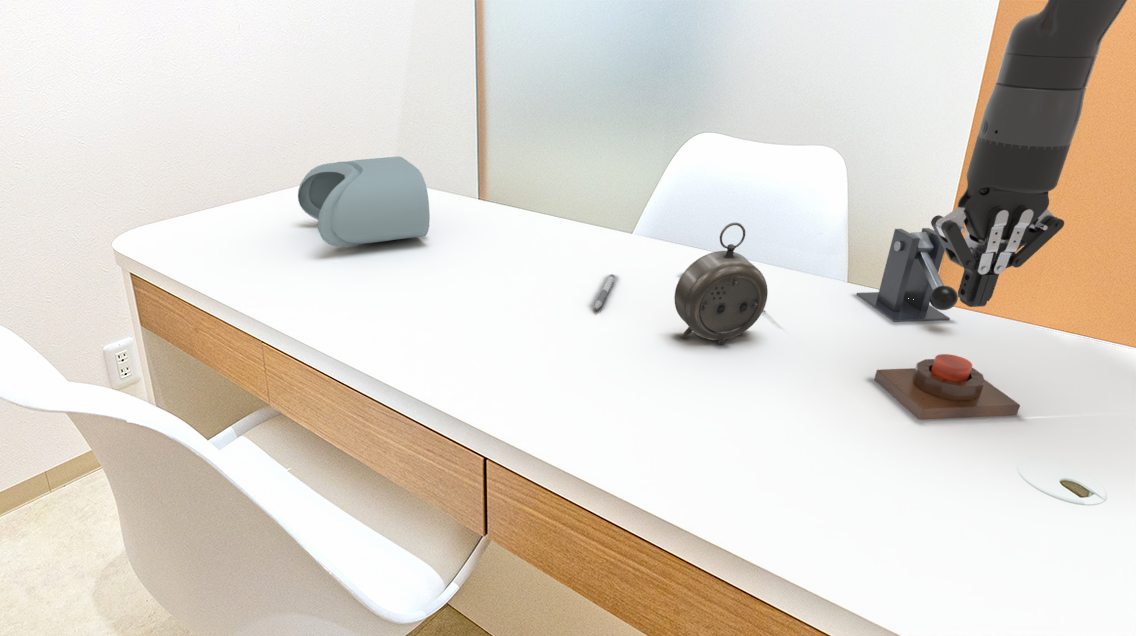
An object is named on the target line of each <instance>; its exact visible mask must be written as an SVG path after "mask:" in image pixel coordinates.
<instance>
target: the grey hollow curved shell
mask: <svg viewBox="0 0 1136 636" xmlns="http://www.w3.org/2000/svg"><path fill="white" fill-rule="evenodd" d="M297 201H298V203H299V206H300V207H301V209H302V211H303V212H304V213H305V214H307V215H308V216H310V217H311V218H313V219H315V220H317V229H318V233H319V235H320V237H321V239H322V240H323V242H324V243H326V244H327V245H331V246H334V247H338V248H351V247H358V246H363V245H365V244H374V243H381V242H388V241H394V240H403V239H404V240H405V239H413V238H421V237H427V235H428V234H429V229H430V216H431V215H430V201H429V192H428V188H427V184H426V181H425V179H424V176H423V174H422V172H421V171H420V169H419V168H418V167H416V166H415V165H414V164H413V163H411V162H410V161H408V160H407V159H405V158H404V157H402V156H387V157H375V158H365V159H364V158H363V159H354V160H348V161H337V162H330V163H329V162H328V163H324V164H320V165H317V166H315V167H314V168H312V169H310V170H309V172H307V173H306V175H304V177H303V179H302V181H300V184H299V187H298V191H297Z"/></svg>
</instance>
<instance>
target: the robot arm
mask: <svg viewBox="0 0 1136 636" xmlns="http://www.w3.org/2000/svg"><path fill="white" fill-rule="evenodd" d="M1127 2H1128V0H1048V1H1047V2H1046V4H1045V5H1044V7H1043V9H1041V11H1039V12H1037V13H1033V14H1029V15H1026V16H1025V17H1023V18H1021V19H1020V20H1018V21H1017V22H1016V23H1015V25H1014V26H1013V28H1012V30H1011V31H1010V34H1009V36H1008V39H1007V42H1006V45H1005V49H1004V53H1003V56H1002V60H1001V63H1000V67H999V70H998V74H997V77H996V80H995V81H996V82H995V84H994V86H993V89H992V92H991V94H990V96H989V99H988V101H987V103H986V106H985V109H984V111H983V116H982V120H981V123H980V126H979V130H978V134H977V136H976V141H975V144H974V147H973V150H972V155H971V158H970V161H969V165H968V168H967V173H966V182H967V187H966V189H965V191H964V193H963V194H962V196H961V197H959V199H958V202H957V208H955V209H954V210H952V211H951V212H949V213H948V214H946V215H945V216H942V215H940V214H938V215H935V216H933V217H932V219H931V221H930V225H931V226H932V228H933V229H932V230H934V231H935V233H936V235H937V237H938V238H939V240H940V242H941V244H942V246H943V248H944V250H945V252H944V253H945V255H946V256H947V258H948V260H949V261H951V262H952V263H954V264H955V265H958V266H959V267H962V268H963V274H962V277H961V280H960V284H959V287H958V290H957V295H958V299H959V301H960V302H961V303H962V304H964V305H965V306H967V307H969V308H978V307H980V308H982V307H985V306H987V303H988V302H989V301H990V300H991V299H992V297H993V294H994V291H995V289H996V285H997V283H998V279H999V276H1000V274H1003V273H1004V271H1005V270H1006V269H1009V268H1011V267H1013V268H1017V269H1018V268H1020V267H1022V266H1023V265H1024V264H1025V263H1026V262H1027V261H1028V260H1030V258H1032V256H1033V255H1034V254H1036V253H1037V252H1038V251H1039V250H1040V249H1041V248H1042V247H1044V246H1045V245H1046V244H1047V242H1049V241H1050V240H1051V239H1052V238H1053V237H1054V236H1055V235H1057V233H1059V232H1060V231H1061V230H1062V229H1063V228H1064V226H1065V220H1063V219H1061V218H1059V217H1058V216H1055V215H1054V214H1052V212H1051V211H1050V210H1049V209H1048V208H1049V205H1050V198H1049V192H1051V191H1053V190H1054V189H1056V187H1057V186H1058V184H1059V181H1060V177H1061V174H1062V172H1063V168H1064V166H1065V163H1066V160H1067V157H1068V155H1069V151H1070V148H1071V145H1072V142H1073V139H1074V136H1075V133H1076V130H1077V129H1078V125H1079V122H1080V118H1081V115H1082V111H1083V107H1084V106H1083V105H1084V99H1085V96H1086V95H1085V94H1086V91H1087V87H1088V86H1089V85H1088V84H1089V82H1090V79H1091V76H1092V73H1093V70H1094V67H1095V64H1096V62H1097V59H1098V55H1099V52H1100V48H1101V44H1102V41H1103V39H1104V37H1105V36H1106V34H1107V33H1108V31H1109V30H1110V28H1111V27H1112V25H1113V24H1114V22H1115V21H1116V19H1117V18H1118V17H1119V15H1120V13H1122V10H1123V9H1124V7H1125V5H1126V4H1127ZM965 231H966V232H965ZM964 233H965V237H964V235H963V234H964Z"/></svg>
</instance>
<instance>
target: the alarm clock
mask: <svg viewBox="0 0 1136 636" xmlns="http://www.w3.org/2000/svg"><path fill="white" fill-rule="evenodd" d="M732 226H737V227H740V229H741V230H742V238H741V240H739V242H738V243H737V244H736V245H734V244H733V243H730V244H728V245H725V244H724V242H723V235H724V233H725V231H726V230H727V229H729V228H730V227H732ZM745 238H746V228H745V227H744V225H743V224H741V223H740V222H730V223H728V224H726V225H725V226H724V227H723V229H722V230H721V232H720V234H719V242H720V245H721V246H722V247H723V248H724V249H727V250H717V251H712V252H710V253H707V254H705V255H703V256H701V257H699V258H698V259H696V260H695V261H693V262H692V263H691V264H689V266H688V267H687V268H686V269H685V270H684V271H683V273H682V275H681V276H680V277H679V280H678V282H677V284H676V286H675V290H674V307H675V310H676V313H677V314H678V316H679V317H680V319H681V320H682V321H683V322H684V323H685V324H686V325H687V328H686V329H685V330H684V332H683V333H682V335H681V336H680V337H679V339H680V340H681V339H682V340H683V339H686V338H687V337H688V336H689V335H690V334H691V333H692V332H693V333H694V334H696V335H697V336H699V337H700V338H702V339H705V340H710V341H718V343H717V344H718V345H717V346H718V347H719V346H720V347H723V346H725V340H729V339H733V338H735V337H737V336H739V335H743V333H745V332H746V331H748V330H749V329H750V328H751V327H752V326H753V325H754V324H755V323H757V321H758V319H759V318H760V317H761V315H762V313H763V312H764V309H765V307H766V304H767V301H768V283H767V281H766V278H765V276H764V274H763V273H762V271H761V270H760V269H759V268H757V266H755V265H754V263H751V261H749V260H748V259H747V258H746V257H745V256H744V255H742V254H740V253H738V252H735V249H737V248H738V247H739V246H741V244H742V243H743V242H744V240H745Z"/></svg>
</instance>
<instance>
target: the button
mask: <svg viewBox="0 0 1136 636" xmlns="http://www.w3.org/2000/svg"><path fill="white" fill-rule="evenodd" d="M933 359H934V363H933V366H932V369H931V372H932V373H933V374H934V375H936V376H938V377H941V378H943V379H947V380H952V381H958V382H959V381H967V380H968V378H969V375H970V372H971V369H972V368H973V364H972V363H973V362H971V361H970V360H968V359H967V358H965V357H962V356H959V355H956V354H948V353H942V354H941V353H940V354H937V355H935V357H934V358H933Z"/></svg>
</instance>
